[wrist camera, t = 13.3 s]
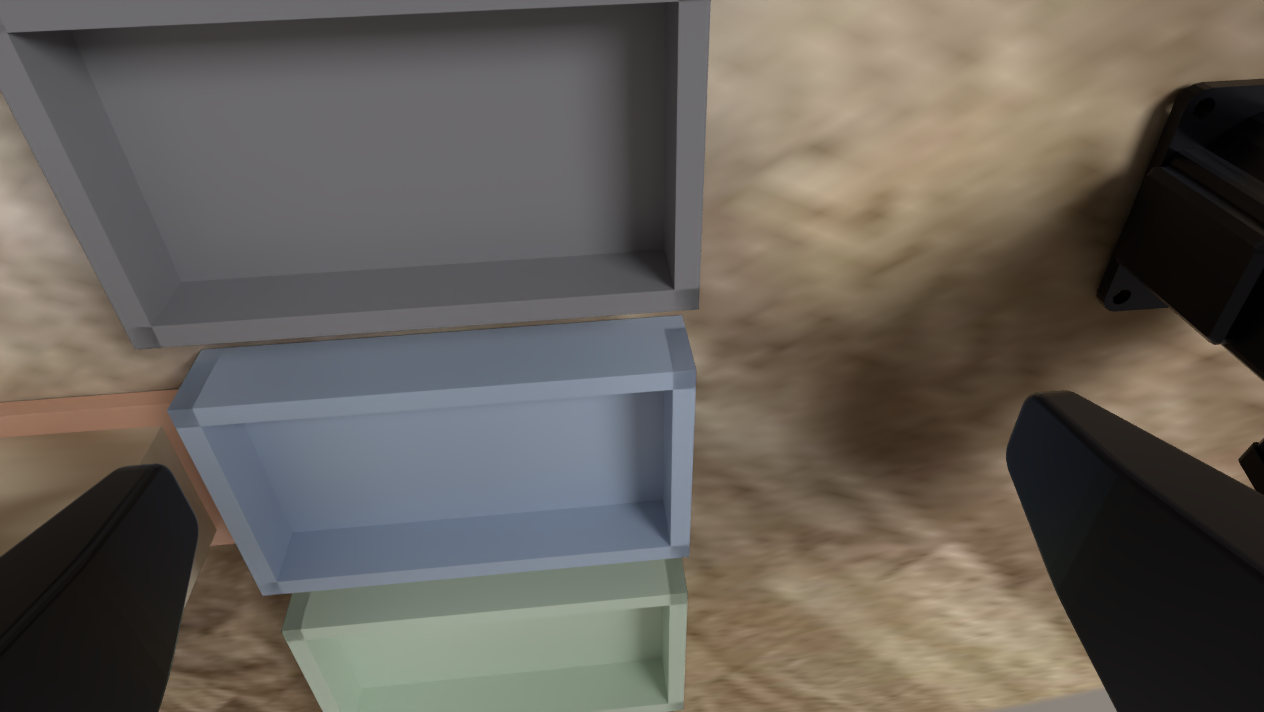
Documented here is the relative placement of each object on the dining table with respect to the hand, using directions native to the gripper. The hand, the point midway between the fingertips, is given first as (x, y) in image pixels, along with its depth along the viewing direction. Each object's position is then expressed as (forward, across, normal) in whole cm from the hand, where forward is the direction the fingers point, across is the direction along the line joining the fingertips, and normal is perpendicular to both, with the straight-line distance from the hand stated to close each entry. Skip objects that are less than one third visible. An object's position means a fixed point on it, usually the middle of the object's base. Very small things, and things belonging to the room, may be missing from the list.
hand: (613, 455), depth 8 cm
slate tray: (+12, +4, +10) cm, 16 cm away
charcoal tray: (+12, +4, +1) cm, 13 cm away
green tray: (+12, +4, +20) cm, 24 cm away
